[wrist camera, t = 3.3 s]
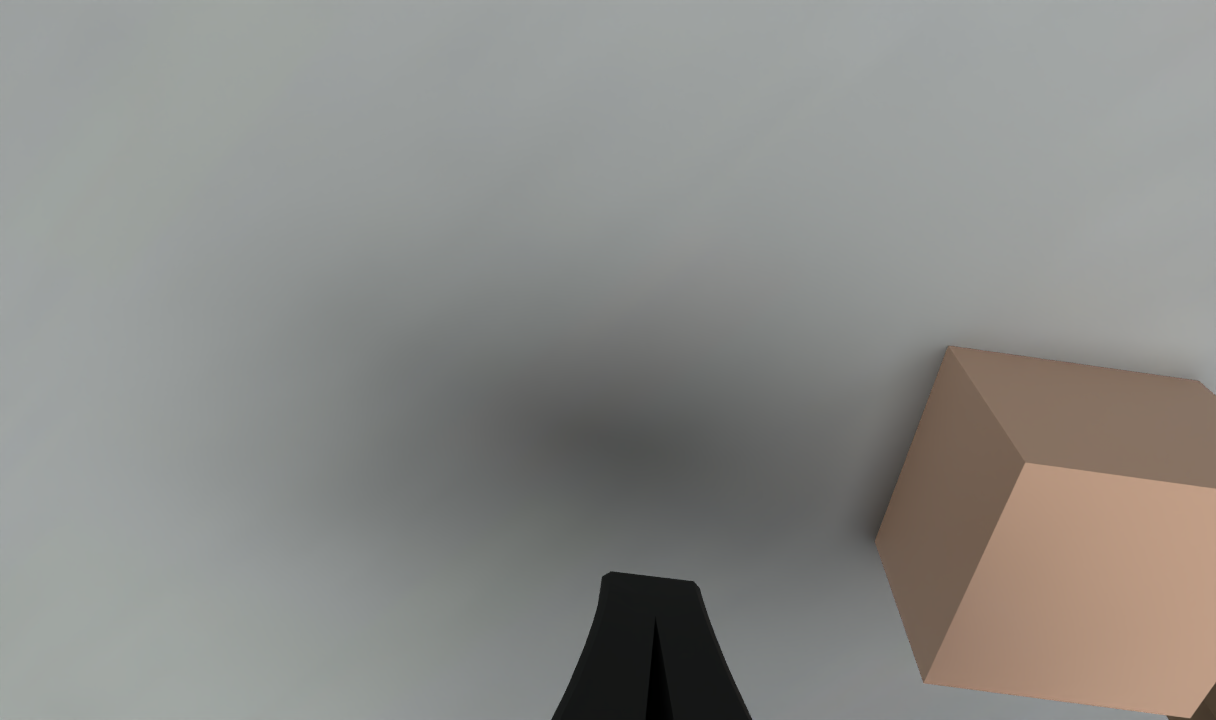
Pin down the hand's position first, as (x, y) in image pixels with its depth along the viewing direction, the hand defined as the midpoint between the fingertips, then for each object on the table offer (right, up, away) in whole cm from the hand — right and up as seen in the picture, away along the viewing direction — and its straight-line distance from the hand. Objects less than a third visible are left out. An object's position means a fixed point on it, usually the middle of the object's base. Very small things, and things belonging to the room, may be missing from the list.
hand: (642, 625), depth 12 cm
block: (+8, +2, +5) cm, 10 cm away
